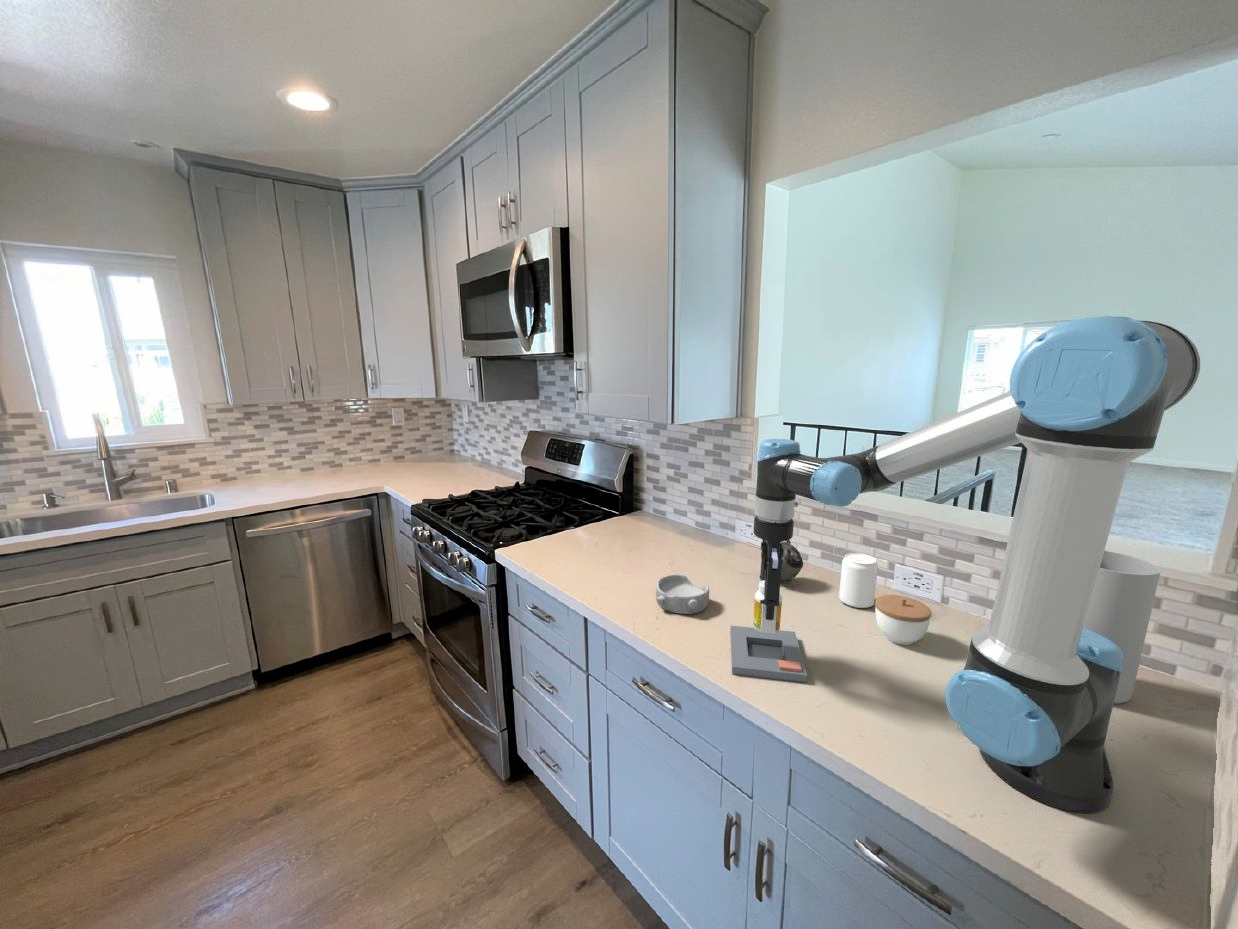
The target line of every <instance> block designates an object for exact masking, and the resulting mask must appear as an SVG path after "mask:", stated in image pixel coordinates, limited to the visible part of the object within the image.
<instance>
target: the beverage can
mask: <svg viewBox="0 0 1238 929" xmlns="http://www.w3.org/2000/svg"><path fill="white" fill-rule="evenodd" d="M878 569H879V565H878V563H877V559H876V558H875V557H873V556H872V555H868V554H865V553H859V552H851V553H847V554H845V555H844V558H843V559H842V562H841V574H840V583H839V591H838V592H839V594H838V597H839V600H840V601H841V602H842V603H843V604H846V605H847V606H849V607H853V608H858V609H866V608H867V609H868V608H871V607H873V606H874V605H875V597H876V588H877V578H878Z"/></svg>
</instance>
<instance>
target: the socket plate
mask: <svg viewBox="0 0 1238 929" xmlns="http://www.w3.org/2000/svg"><path fill="white" fill-rule="evenodd" d="M729 631H730V632H729V635H730V636H729V637H730V655H731V656H730V658H731V659H730V660H731V674H732V675H737V676H745V677H746V676H747V677H755V678H763V679H771V680H780V681H789V682H797V683H808V673H807V669H806V666H805V663H804V659H803V655H802V652H801V648H800V645H799V641H798V637H797V635H796V634H797V633H796V631H790V630H780V629H779V631H778V632H776V633H775V634H766V633H762V632H759V631H758V630H756V629H755V628H754V627H752V626H751V627H748V626H739V625H730V630H729Z"/></svg>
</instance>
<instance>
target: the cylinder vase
mask: <svg viewBox="0 0 1238 929" xmlns="http://www.w3.org/2000/svg"><path fill="white" fill-rule="evenodd" d="M1160 575H1161V568H1160V567H1158V566H1157V565H1155V564H1153V563H1151V562H1149V561H1146V560H1144V559H1141V558H1138V557H1136V556H1131V555H1127V554H1125V553H1119V552H1114V551H1111V550H1106V549H1105V550H1104V554H1103V558H1102V561H1101V565H1100V569H1099V572H1098V576H1097V580H1096V583H1095V587H1094V591H1093V594H1092V598H1091V602H1090V605H1089V609H1088V613H1087V616H1086V620H1085V624H1084V627H1083V628H1085V629H1088V630H1090V631H1093V632H1095V633H1097V634H1099V635H1102V636H1104V637H1105V638H1107V639H1109V640H1110V641H1112V642H1113V643H1115V644H1116V645H1117V646H1118V647H1119V648H1120V649H1121V651H1122V654H1123V661H1122V669H1123V672H1121V673H1120V677H1119V682H1118V686H1117V691H1116V695H1115V699H1114V704H1123V703H1126V702H1129V701H1130V700H1131V698H1132V697H1133V693H1134V688H1135V685H1136V681H1137V677H1138V676H1137V675H1138V671H1139V667H1140V663H1141V660H1142V659H1141V658H1142V654H1143V649H1144V645H1145V640H1146V637H1147V632H1148V629H1149V624H1150V619H1151V615H1152V610H1153V607H1154V602H1155V597H1156V592H1157V588H1158V584H1159V580H1160Z"/></svg>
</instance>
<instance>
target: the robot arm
mask: <svg viewBox="0 0 1238 929" xmlns="http://www.w3.org/2000/svg"><path fill="white" fill-rule="evenodd" d="M1200 371H1201V357H1200V353H1199V351H1198V348H1197V346H1196V345H1195V343H1194V341H1192V340H1191V339H1190V338H1189V336H1188V335H1187V334H1184V333H1183V332H1181V331H1180V330H1179V329H1177V328H1175V327H1173V326H1170V325H1168V324H1165V323H1160V322H1157V321H1149V320H1138V319H1133V318H1131V317H1128V316H1110V315H1102V316H1097V317H1094V316H1093V317H1086V318H1085V317H1084V318H1078V319H1072V320H1070V321H1067V322H1064V323H1061V324H1058V325H1056V326H1054V327H1052V328H1049V329H1048V330H1046V331H1043V333H1041V334H1040V335H1038V336H1037V337H1036V338H1035V339H1033V340H1031V341H1030V343H1028V344H1027V345H1026V346H1025V347H1024V349H1023V350H1022V351H1021V353H1020V354H1019V355H1018V357H1017V358H1016V360H1015V362H1014V364H1013V367H1012V368H1011V372H1010V377H1009V378H1010V379H1009V391H1006V392H1004V393H1002V394H999V395H996V396H994V397H992V398H990V399H987V400H985V401H983V402H980V403H978V404H974V405H973V406H970V407H968V408H966V409H963V410H960V411H958V412H955V413H953V414H952V415H949V416H946V417H943V418H941V419H938V420H936V421H934V422H931V423H930V424H929V423H928V424H926V425H924V426H922V427H920V428H917V429H915V430H912V431H910V432H907V433H905V434H902V435H900V436H898V437H896V438H893V439H890V440H889V441H886V442H883V443H880V444H879V445H876V446H873V447H871V448H869V449H866V450H864V451H862V452H858V453H852V454H845V455H837V456H830V457H817V456H810V455H806V454H801V447H800V446H801V445H800V443H799V441H796V440H793V439H789V438H788V439H787V438H768V439H764V440H762V441H761V442H760V444H759V449H758V455H757V460H756V462H757V465H756V466H757V470H756V473H757V474H756V489H755V490H756V491H755V497H754V498H755V499H754V509H753V510H754V511H753V512H754V515H755V516H754V519H753V531H752V532H753V535H755V537H757V538H759V539H760V540H762V541H761V542H760V550H761V552H760V559H761V561H760V573H759V579H760V581H763V580H765V589H764V600H760V603H761V604H763V605H762V619H761V632H763V633H773V634H775V627H776V614H777V606H779V594H780V592H781V586H780V580H781V568H782V563H783V560H782V556H783V548H782V544H781V542H787V541H788V540H790V541H791V540H792V538H793V536H794V525H795V522H794V520H793V519H794V517H795V510H796V509H795V508H798V506H799V502H798V501H796V496H800V497H803V498H806V499H809V500H813V501H815V502H819V503H821V504H824V505H827V506H830V505H831V506H835V507H847V506H850V505H851V504H852V502H853V501H855V500H857V498H858V496H859V495H860V494H866V493H871V492H872V493H873V492H879V491H883V490H885V489H888V488H890V487H892V486H893V485H896V484H898V483H901V482H904V481H908V480H911V479H913V478H916V477H919V476H923V475H926V474H929V473H931V472H935V471H938V470H941V469H944V468H948V467H951V466H953V465H956V464H959V463H963V462H966V461H969V460H973V459H975V458H979V457H981V456H984V455H987V454H990V453H993V452H997V451H1001V450H1003V449H1006V448H1009V447H1013V446H1016V445H1018V444H1021V443H1022V444H1023V446H1024V448H1026V449H1027V454H1026V458H1025V463H1024V468H1023V470H1022V471H1023V472H1022V477H1021V482H1020V484H1019V489H1018V493H1017V494H1018V495H1017V498H1016V503H1015V508H1014V513H1013V516H1012V521H1011V526H1010V530H1009V534H1008V540H1007V544H1006V547H1005V553H1004V558H1003V562H1002V566H1001V571H1000V575H999V580H998V584H997V589H996V594H995V597H994V602H993V607H992V611H991V617H990V620H989V624H988V625H987V626H983V627H981V628H978V629H976V630H974V631H973V633H972V635H971V639H970V643H969V647H968V652H967V656H966V661H965V665H964V668H963V669H962V670H960V671H957V672H955V673H954V674H953V676H951V678H950V680H948V683H947V684H946V686H945V691H944V692H945V693H944V694H945V695H944V698H945V699H944V700H945V703H946V704H945V705H946V707H947V710H948V712H949V715H950V717H951V719H952V720H953V721H954V722H955V724H957V725H958V726H959V730H960V732H961V733H962V734H963V735H964V736H965V737H966V739H968V740H969V741H970V742H971V743H972V745H973V744H974V746H976V747H977V748H979V752H980V755H981V757H982V759H983V762H985V764H987V766H988V767H989V768H990V769H991V771H992V772H993V773H994V774H996V775H997V777H999V778H1000V779H1002V781H1004V782H1005V783H1006V784H1008V785H1009V786H1011V787H1013V788H1014V789H1016V790H1017V791H1019V792H1021V793H1022V794H1024V795H1026V796H1028V797H1030V798H1032V799H1034V800H1036V801H1038V802H1041V803H1043V804H1045V805H1047V806H1051V807H1054V808H1056V809H1060V810H1063V811H1068V812H1073V813H1080V814H1094V813H1099V812H1102V811H1105V810H1106V809H1107V808H1108V807H1110V805H1111V801H1112V798H1113V793H1114V780H1113V776H1112V772H1111V767H1110V763H1109V758H1108V756H1107V750H1106V746H1105V743H1106V739H1107V734H1108V731H1109V725H1110V721H1111V718H1112V717H1111V715H1112V712H1113V707H1114V704H1115V703H1114V699H1115V695H1116V691H1117V686H1118V682H1119V677H1120V673H1121V672H1123V669H1122V661H1123V654H1122V651H1121V649H1120V648H1119V647H1118V646H1117V645H1116V644H1115V643H1113V642H1112V641H1110V640H1109V639H1107V638H1105V637H1104V636H1102V635H1099V634H1097V633H1095V632H1093V631H1090V630H1088V629H1085V628H1083V627H1084V624H1085V620H1086V616H1087V613H1088V609H1089V605H1090V602H1091V598H1092V594H1093V591H1094V587H1095V583H1096V580H1097V576H1098V572H1099V569H1100V565H1101V561H1102V558H1103V554H1104V550H1105V551H1106V546H1107V542H1108V540H1109V536H1110V532H1111V528H1112V524H1113V520H1114V517H1115V513H1116V510H1117V506H1118V502H1119V498H1120V495H1121V491H1122V488H1123V483H1124V479H1125V476H1126V473H1127V470H1128V466H1129V464H1130V463H1131V462H1132V461H1134V460H1136V459H1138V458H1140V457H1142V456H1145V455H1146V454H1149V453H1150V452H1152V451H1154V448H1155V445H1156V441H1157V437H1158V434H1159V432H1160V427H1161V424H1162V420H1163V417H1164V413H1165V412H1166V411H1167V410H1169V409H1171V408H1172V407H1174V406H1176V405H1178V403H1179V402H1180V401H1182V400H1183V399H1184V398H1185V397H1186V396H1187V395H1188V394H1189V393H1190V391H1191V390H1192V389H1193V388H1194V386H1195V384H1196V382H1197V381H1198V379H1199V374H1200ZM780 595H781V594H780Z"/></svg>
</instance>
